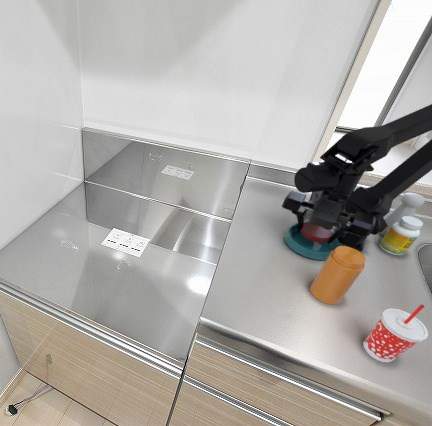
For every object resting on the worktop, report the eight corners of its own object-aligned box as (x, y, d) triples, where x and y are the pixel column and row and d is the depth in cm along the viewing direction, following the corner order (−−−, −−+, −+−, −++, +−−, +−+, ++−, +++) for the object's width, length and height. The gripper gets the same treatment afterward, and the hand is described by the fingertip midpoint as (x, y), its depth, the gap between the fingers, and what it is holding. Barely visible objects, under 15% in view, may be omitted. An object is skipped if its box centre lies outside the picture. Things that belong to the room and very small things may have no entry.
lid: (335, 242, 74) (338, 237, 73) (309, 243, 74) (312, 239, 73) (319, 225, 80) (322, 220, 79) (295, 226, 79) (297, 221, 78)
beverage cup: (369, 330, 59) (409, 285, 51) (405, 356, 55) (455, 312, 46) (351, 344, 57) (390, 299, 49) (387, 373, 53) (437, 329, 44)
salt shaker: (396, 229, 84) (424, 191, 76) (405, 242, 79) (436, 203, 72) (372, 226, 85) (397, 188, 77) (379, 238, 81) (406, 199, 73)
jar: (310, 279, 70) (333, 241, 63) (340, 290, 67) (367, 251, 60) (308, 297, 66) (332, 258, 59) (340, 309, 63) (369, 270, 56)
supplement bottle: (383, 239, 81) (403, 211, 75) (407, 250, 77) (430, 222, 71) (375, 247, 78) (395, 219, 72) (399, 259, 75) (422, 230, 69)
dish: (290, 225, 86) (294, 217, 84) (338, 243, 80) (343, 235, 78) (278, 247, 79) (281, 239, 77) (330, 268, 72) (335, 260, 71)
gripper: (286, 188, 68) (266, 238, 78) (386, 218, 58) (350, 271, 68) (298, 170, 75) (279, 218, 84) (390, 195, 65) (357, 246, 74)
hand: (313, 237), depth 78 cm, fingers closed on lid, 6 cm apart
